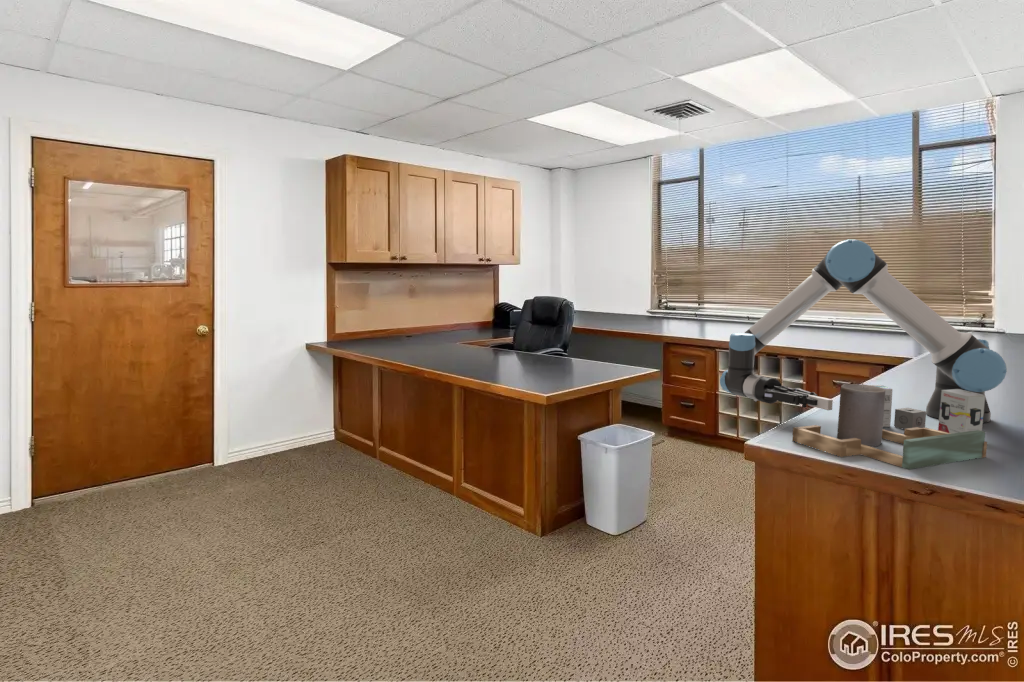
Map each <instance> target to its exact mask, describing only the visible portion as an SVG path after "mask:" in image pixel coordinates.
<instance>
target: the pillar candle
mask: <svg viewBox="0 0 1024 682" xmlns="http://www.w3.org/2000/svg"><path fill="white" fill-rule="evenodd" d="M870 385H871V384H864V382H861V383H848V384H845V385H843V384H842V385H840V392H839V395H840V396H839V410H838V420H837V421H838V422H837V433H836V438H837V439H840V440H843V439H851V438H857V439H861V444H863V445H866V446H870V447H873V448H876V447H879V446H881V445H882V442H883V441H882V440H883V439H882V429H884V428H883V416H884V402H885V391H886V390H885V389H884V388H880V387H876V386H870Z"/></svg>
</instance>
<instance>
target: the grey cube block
mask: <svg viewBox="0 0 1024 682" xmlns="http://www.w3.org/2000/svg"><path fill="white" fill-rule="evenodd" d="M926 418H927V414H926V410H920V409H916V408H912V407H911V408H910V407H902V408H895V409H894V421H893V422H894V424H893V427H894V426H895V427H894V428H897V427H899V428H898V429H901V428H903V429H902V430H905V429H907V428H915V427H919V428H926V420H927V419H926Z"/></svg>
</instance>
